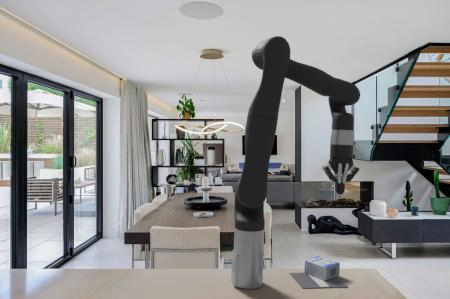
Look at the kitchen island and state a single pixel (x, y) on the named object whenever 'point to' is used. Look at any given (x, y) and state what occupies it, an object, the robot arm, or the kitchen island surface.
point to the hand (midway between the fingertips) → (339, 194)
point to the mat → (316, 281)
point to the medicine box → (322, 268)
